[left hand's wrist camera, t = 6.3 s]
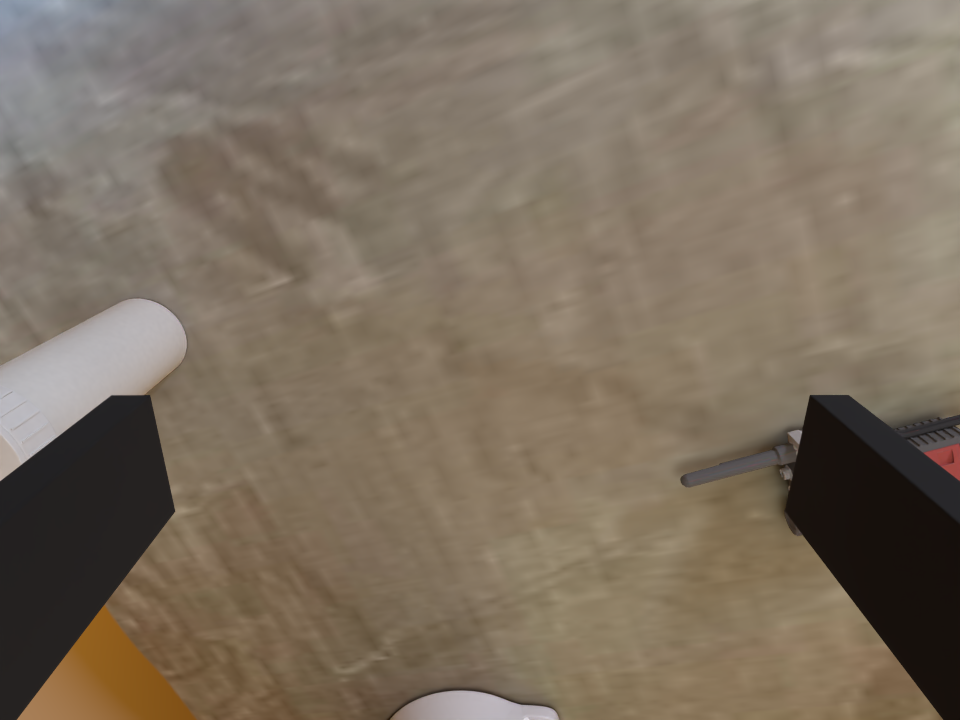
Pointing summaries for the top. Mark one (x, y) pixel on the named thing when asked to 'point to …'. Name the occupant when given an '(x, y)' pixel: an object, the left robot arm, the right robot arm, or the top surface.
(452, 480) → the top surface
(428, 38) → the top surface
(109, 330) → the jar
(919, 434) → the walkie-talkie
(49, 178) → the top surface
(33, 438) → the lid
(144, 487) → the left robot arm
